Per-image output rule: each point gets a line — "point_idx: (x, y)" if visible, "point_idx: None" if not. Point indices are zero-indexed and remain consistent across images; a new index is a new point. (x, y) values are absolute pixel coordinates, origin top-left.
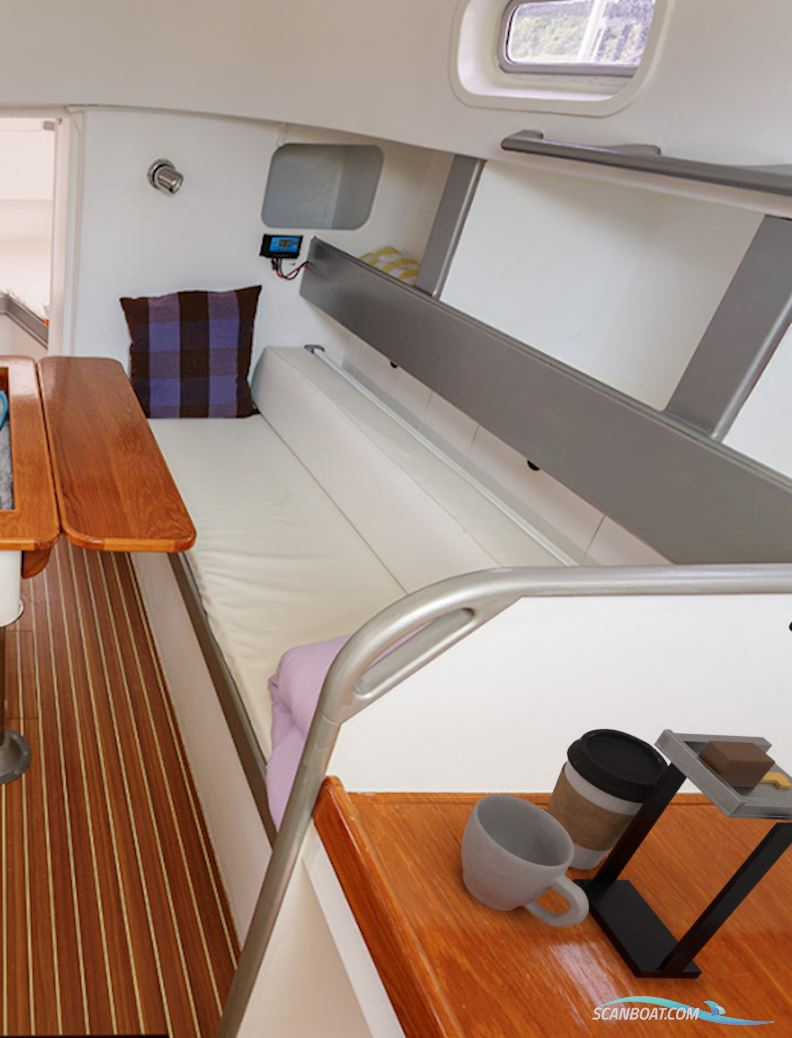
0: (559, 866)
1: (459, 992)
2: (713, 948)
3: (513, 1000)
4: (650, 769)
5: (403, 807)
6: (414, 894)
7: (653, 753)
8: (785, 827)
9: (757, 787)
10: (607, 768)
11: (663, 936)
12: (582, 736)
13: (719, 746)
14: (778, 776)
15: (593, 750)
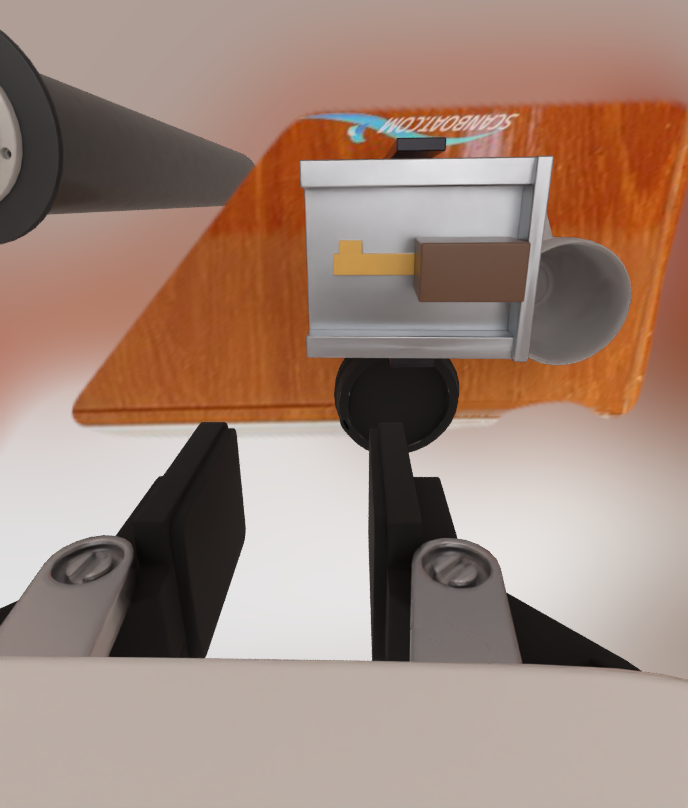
0: (561, 243)
1: (660, 143)
2: (301, 210)
3: (600, 134)
4: (365, 381)
5: (561, 395)
6: (629, 272)
7: (347, 407)
8: (438, 137)
9: (408, 239)
10: (428, 384)
11: None
12: (433, 440)
13: (519, 283)
14: (348, 263)
15: (424, 418)
